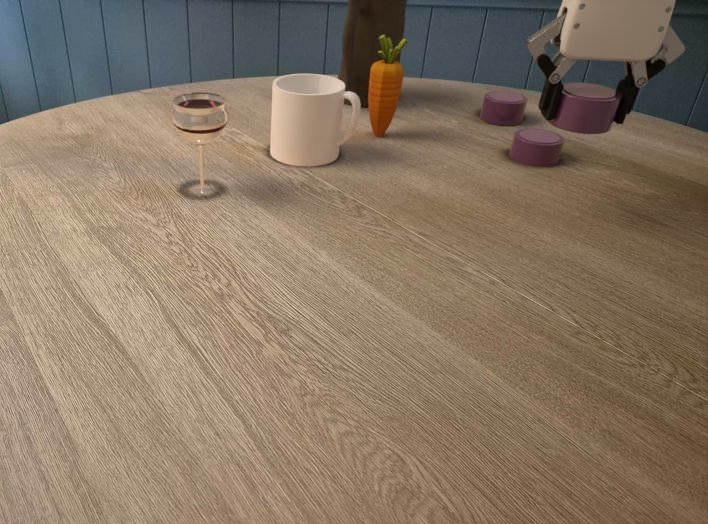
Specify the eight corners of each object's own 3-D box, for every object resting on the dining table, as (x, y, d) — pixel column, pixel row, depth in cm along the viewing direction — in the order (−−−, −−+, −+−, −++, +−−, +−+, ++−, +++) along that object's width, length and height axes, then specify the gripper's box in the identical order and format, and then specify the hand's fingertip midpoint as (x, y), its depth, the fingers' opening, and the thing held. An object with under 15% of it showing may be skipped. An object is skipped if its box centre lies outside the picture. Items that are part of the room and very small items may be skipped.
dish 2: (550, 153, 98) (557, 128, 96) (562, 171, 93) (570, 145, 91) (503, 151, 99) (510, 126, 97) (513, 168, 94) (520, 143, 91)
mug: (259, 162, 95) (260, 89, 88) (284, 139, 102) (288, 70, 96) (342, 178, 91) (350, 102, 84) (363, 153, 98) (372, 81, 92)
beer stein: (347, 84, 125) (357, -36, 111) (403, 92, 121) (420, -31, 108) (318, 114, 114) (325, -14, 101) (378, 123, 111) (393, -8, 97)
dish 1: (517, 113, 113) (522, 90, 110) (526, 127, 107) (532, 103, 105) (476, 111, 113) (481, 89, 111) (483, 125, 108) (488, 102, 106)
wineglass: (209, 178, 90) (207, 88, 83) (238, 196, 86) (238, 102, 79) (167, 190, 87) (160, 98, 80) (195, 209, 83) (191, 113, 75)
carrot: (397, 136, 104) (413, 32, 94) (389, 146, 100) (405, 40, 91) (366, 131, 105) (379, 29, 96) (357, 141, 102) (370, 36, 92)
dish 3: (600, 115, 78) (611, 82, 75) (619, 135, 72) (632, 101, 70) (540, 112, 78) (550, 80, 76) (555, 132, 73) (566, 98, 71)
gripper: (717, -69, 66) (647, 111, 77) (539, -73, 67) (495, 104, 78) (754, -59, 60) (673, 134, 71) (558, -64, 62) (509, 126, 73)
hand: (580, 117), depth 75 cm, fingers closed on dish 3, 6 cm apart
